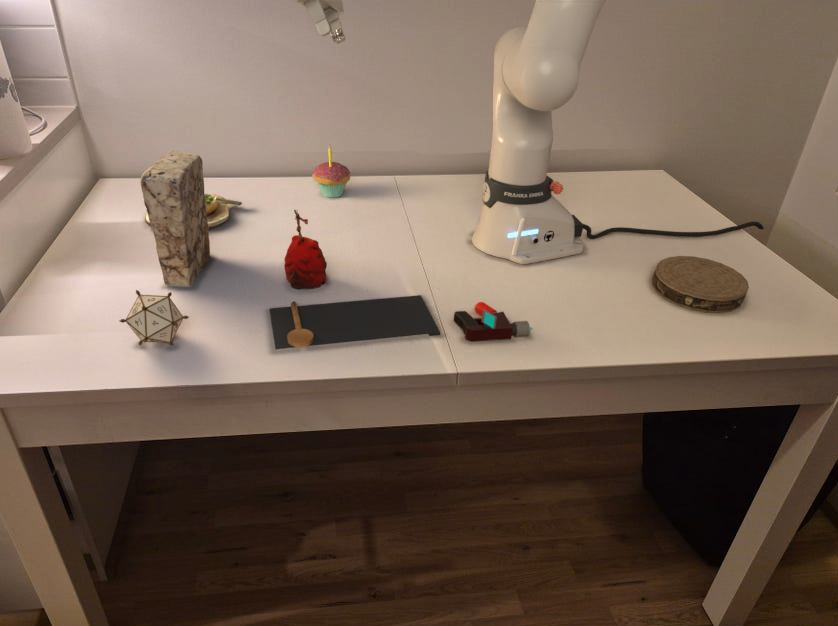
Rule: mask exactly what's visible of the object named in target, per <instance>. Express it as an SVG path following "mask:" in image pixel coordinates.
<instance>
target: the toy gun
mask: <svg viewBox="0 0 838 626" xmlns="http://www.w3.org/2000/svg"><path fill="white" fill-rule="evenodd" d="M474 311H475V313H477V314H478V315H479V316H481V317H472V315H470V313H469V312H468V311H466V310H458V311H454V313H453V322H454V323H455V324H456V325H457V326H458V327H459V328H460V329H461V330H462V333H463V335H464V338H465V340H466V341H468V342H484V341H504V340H511V339H512V337H514V338H523V337H524V338H525V337H529V336H530V333H531V330H533V329H534V327H531V326H530V323H529V321H527V320H522V321H512V322H510V321H509V319H508V317H507V315H506V314H505V312H504V311H499V312H498V311H497V310H496V309H495V308H493V307H492V306H490V305H489V304H487V303H485V302H484V301H477V303H476V304H475V305H474Z"/></svg>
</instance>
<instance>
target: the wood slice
mask: <svg viewBox="0 0 838 626" xmlns="http://www.w3.org/2000/svg"><path fill="white" fill-rule="evenodd" d="M651 281H652V282H651V286H652V287H653V289H654V291H655V293H657V294H658V295H659V296H661V298H663V299H664V300H666V301H667V302H670V303H672V304H674V305H676V306H677V307H681V308H684V309H687V310H691V311H695V312H701V313H708V314H709V313H710V314H723V313H724V314H725V313H730V312H733V311H736V310H737V309H739V308H741V306H742V305H743V304H744V300H745V299H746V296H747V294H748V291H749V289H750V286H749V282H748V280H747V279H746V277H745V276H744V275H743V274H742V273H740V272H739V271H737V270H736V269H734V268H732V267H731V266H728V265H726V264H724V263H722V262H719V261H716V260H712V259H709V258H704V257H698V256H692V255H691V256H688V255H676V256H669V257H666V258H664V259H661V260H659V262H658V263H657V264H656V266H655V269H654V272H653V275H652V280H651Z"/></svg>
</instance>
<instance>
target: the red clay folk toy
mask: <svg viewBox="0 0 838 626" xmlns="http://www.w3.org/2000/svg"><path fill="white" fill-rule="evenodd" d="M293 210H294V211H293V212H294V214H295V218H294V220H296V224H297V226H296V229H295V230H296V232H298V234H295V235H292V237H291V242H290V244H289V245H288V247H287V250H286V254H285V256H284V265H283V267H284V269H283V270H284V273H285V278H286V280H287V281H288V283H289V284H290V287H291V288H292V289H294V290H313V289H319V288H320V287H321V286H322V285H323V286H324V285H325V284H326V282H327V277H328V275H327V271H326V270H327V268H328V267H327V266H328V262H327V261H326V258H325V256H324V253H323V251H322V249H321V248H320V243H319V241H317V240H315V239H312V238H310V237H308V236H303V235H302V232H301V231H302V227H301V221H302V222H303V223H304V224H305V225H308V224H309V219H307V218H303V217H301V216H300V213H298V209H293Z"/></svg>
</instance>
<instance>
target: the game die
mask: <svg viewBox="0 0 838 626" xmlns="http://www.w3.org/2000/svg"><path fill="white" fill-rule="evenodd" d="M135 294H136V296H137V297H136V299H135V301H134V303H133V305H132V306H131V309H130V311H129V313H128V314H127V316H126V318H125V319H124V318H121V319H119V322H120V323H126V324H127V326H128V327H129V328H130V329H131V330H132V331H133V333H134V334H135V335H136V337H137V338H138V339H139V340H138V346H142V345H143V344H144V343H161V344H162V343H163V344H169V346H174V342H172V341H173V340H174V337H175V336H176V334H177V331H178V330H179V328H180V325H181V324H182V322H183V320H188V319H189V318H190V316H188V315H187V314H186V315H184V316H183V314H182V313H181V311H180V310H179V309H178V307H177V306H176V304H175V303H174V302H173V300H172V298H171V297H172V296H173V294H172V291H170V292H167V295H155V294H141V292H140V290H138V289H136V290H135Z"/></svg>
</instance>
